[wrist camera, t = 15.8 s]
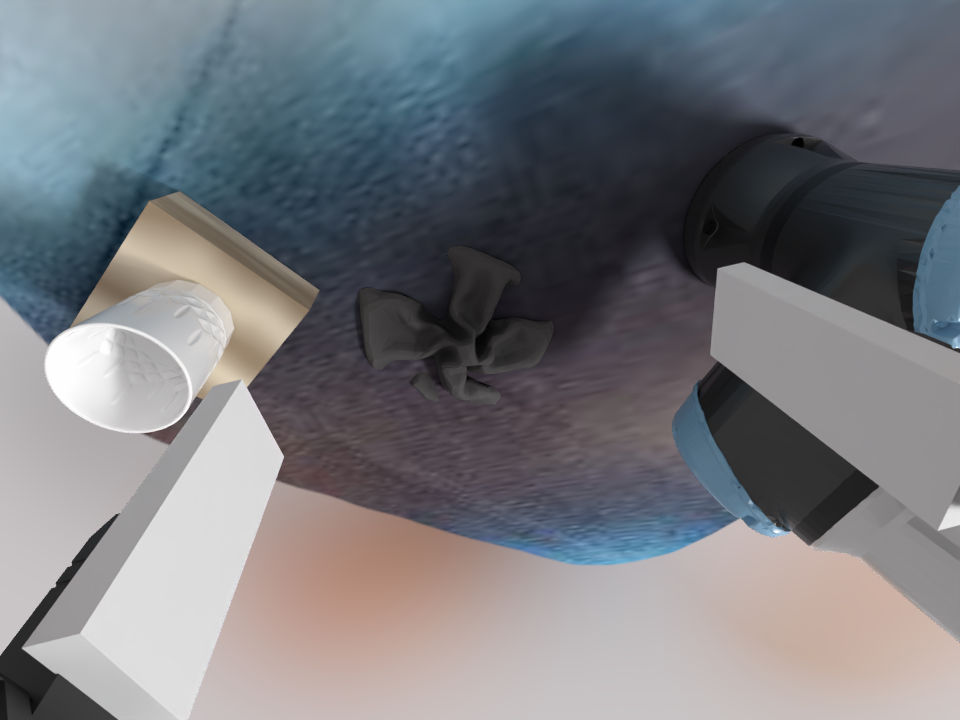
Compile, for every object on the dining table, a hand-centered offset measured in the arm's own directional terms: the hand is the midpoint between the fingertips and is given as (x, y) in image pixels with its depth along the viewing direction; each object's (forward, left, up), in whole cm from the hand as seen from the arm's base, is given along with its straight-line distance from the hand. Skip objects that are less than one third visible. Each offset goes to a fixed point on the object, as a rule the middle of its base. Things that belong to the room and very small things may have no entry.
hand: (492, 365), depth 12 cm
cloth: (+9, +12, -31) cm, 35 cm away
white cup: (+20, -9, -26) cm, 34 cm away
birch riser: (+20, -9, -31) cm, 38 cm away
